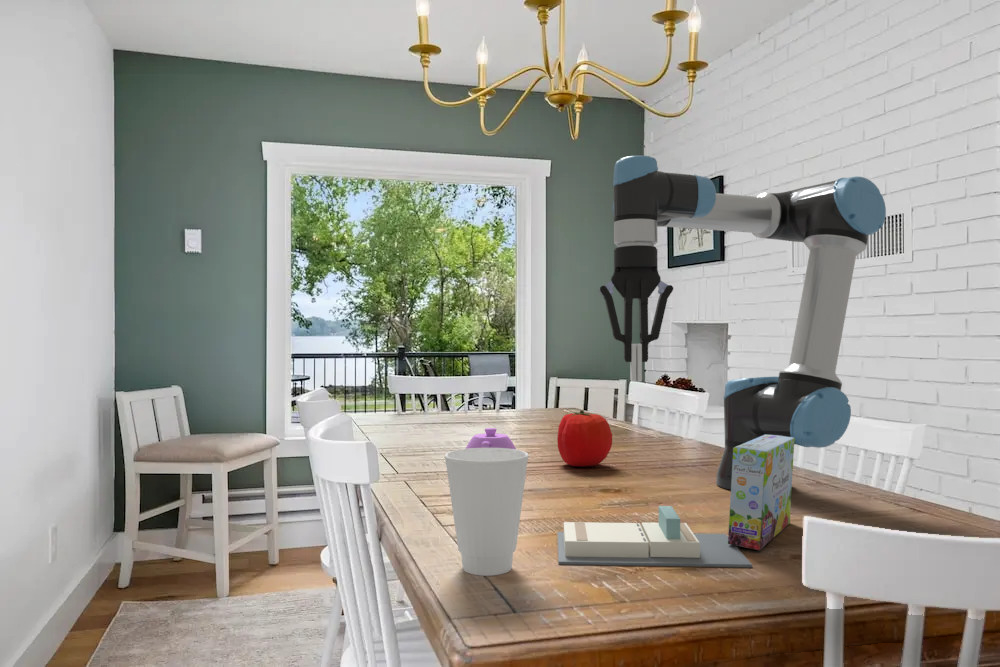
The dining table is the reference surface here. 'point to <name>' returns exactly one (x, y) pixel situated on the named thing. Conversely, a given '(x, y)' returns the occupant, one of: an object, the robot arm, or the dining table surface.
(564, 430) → the tomato
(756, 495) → the snack box
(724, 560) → the board
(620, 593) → the dining table surface
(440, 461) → the dining table surface
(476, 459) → the cup
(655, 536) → the stub
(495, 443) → the teapot
